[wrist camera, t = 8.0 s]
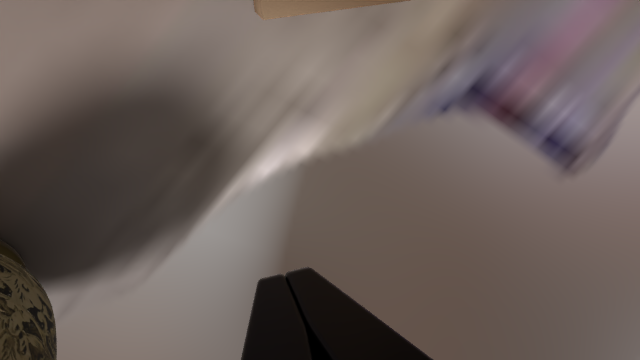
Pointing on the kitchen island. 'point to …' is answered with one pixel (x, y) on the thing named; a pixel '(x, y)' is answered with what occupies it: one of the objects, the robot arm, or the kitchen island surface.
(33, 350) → the cup
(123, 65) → the kitchen island surface
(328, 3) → the stand
